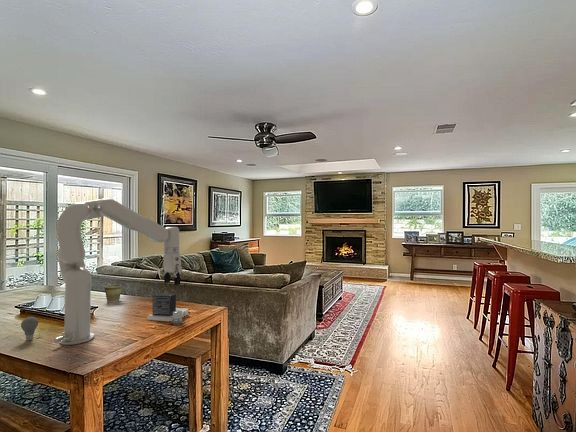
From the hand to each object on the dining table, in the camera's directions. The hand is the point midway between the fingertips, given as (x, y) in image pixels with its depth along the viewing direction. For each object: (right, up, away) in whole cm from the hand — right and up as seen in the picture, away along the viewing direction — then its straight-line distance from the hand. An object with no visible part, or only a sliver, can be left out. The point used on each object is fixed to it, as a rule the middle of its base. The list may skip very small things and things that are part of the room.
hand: (172, 283), depth 170 cm
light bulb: (-52, -19, -28) cm, 62 cm away
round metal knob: (+4, -19, -5) cm, 20 cm away
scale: (-4, -19, +8) cm, 21 cm away
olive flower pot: (-52, -20, +41) cm, 69 cm away
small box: (-6, -18, +5) cm, 19 cm away
